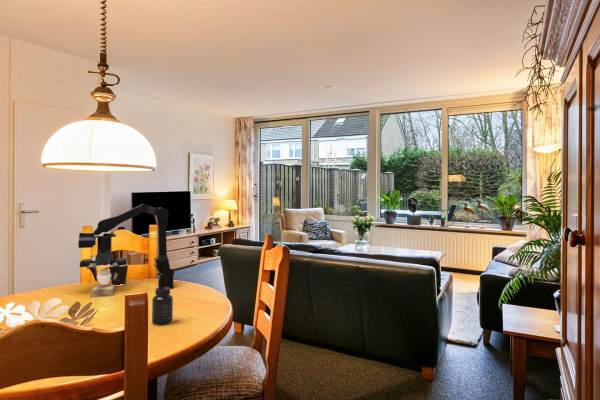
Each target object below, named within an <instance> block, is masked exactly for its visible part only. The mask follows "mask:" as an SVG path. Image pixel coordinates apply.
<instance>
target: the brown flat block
mask: <svg viewBox="0 0 600 400" xmlns="http://www.w3.org/2000/svg"><path fill="white" fill-rule="evenodd" d="M116 292H117V286H116V285H111V284H104V285H101V284H100V285H94V286H93V287H92V288H91V290H90V298H101V297H102V298H103V297H113V296H115V293H116Z"/></svg>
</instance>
